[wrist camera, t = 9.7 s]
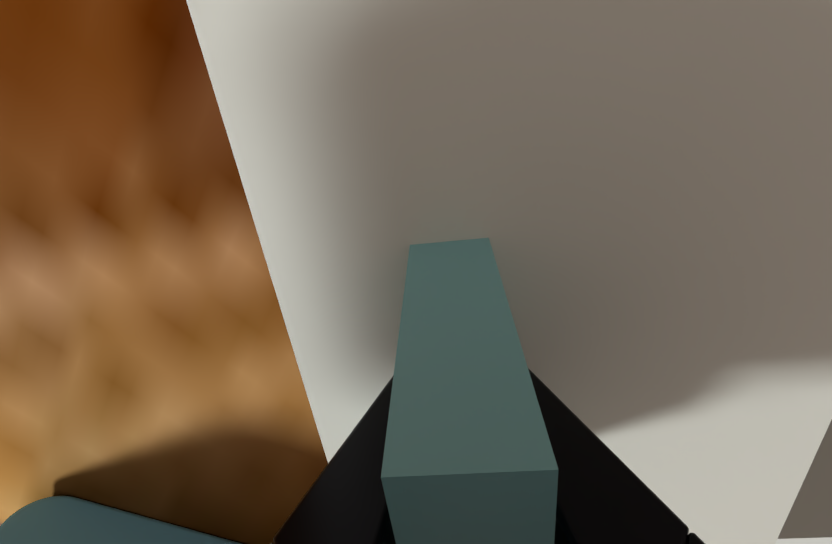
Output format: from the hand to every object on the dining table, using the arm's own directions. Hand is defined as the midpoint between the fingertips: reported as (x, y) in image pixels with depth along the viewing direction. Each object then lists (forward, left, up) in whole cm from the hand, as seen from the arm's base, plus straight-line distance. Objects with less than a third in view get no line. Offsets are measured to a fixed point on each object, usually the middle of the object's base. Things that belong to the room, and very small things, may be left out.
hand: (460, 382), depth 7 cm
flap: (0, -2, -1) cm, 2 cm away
